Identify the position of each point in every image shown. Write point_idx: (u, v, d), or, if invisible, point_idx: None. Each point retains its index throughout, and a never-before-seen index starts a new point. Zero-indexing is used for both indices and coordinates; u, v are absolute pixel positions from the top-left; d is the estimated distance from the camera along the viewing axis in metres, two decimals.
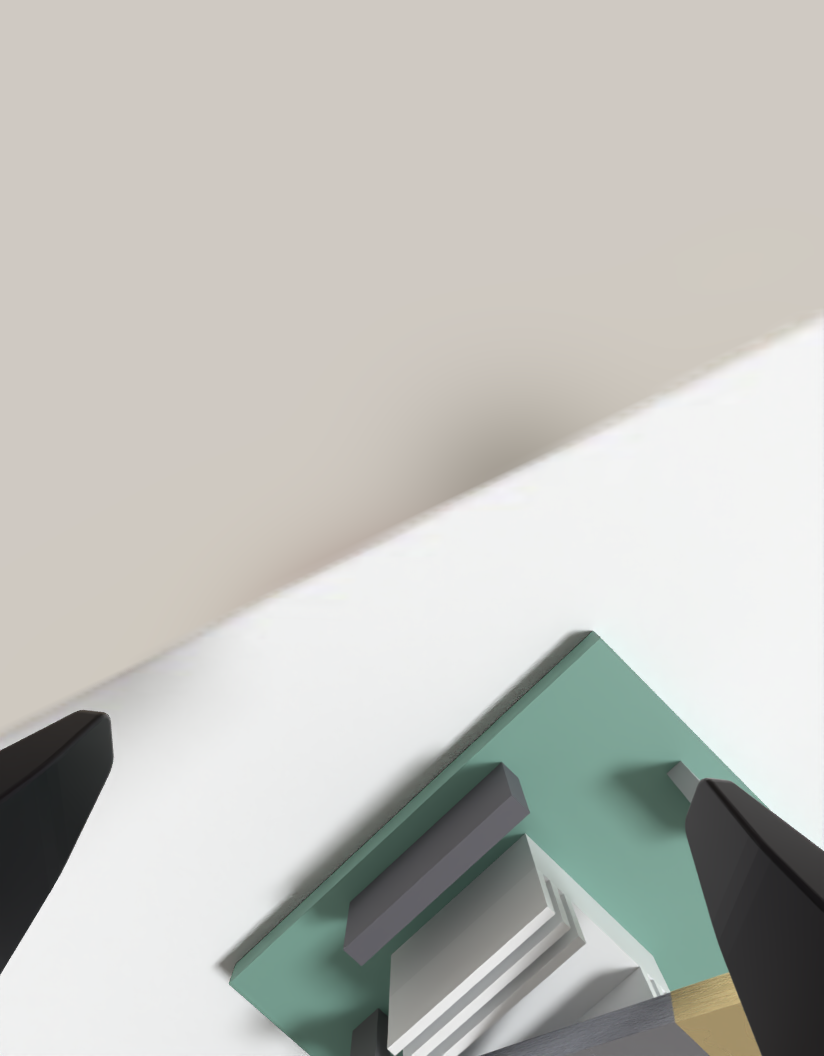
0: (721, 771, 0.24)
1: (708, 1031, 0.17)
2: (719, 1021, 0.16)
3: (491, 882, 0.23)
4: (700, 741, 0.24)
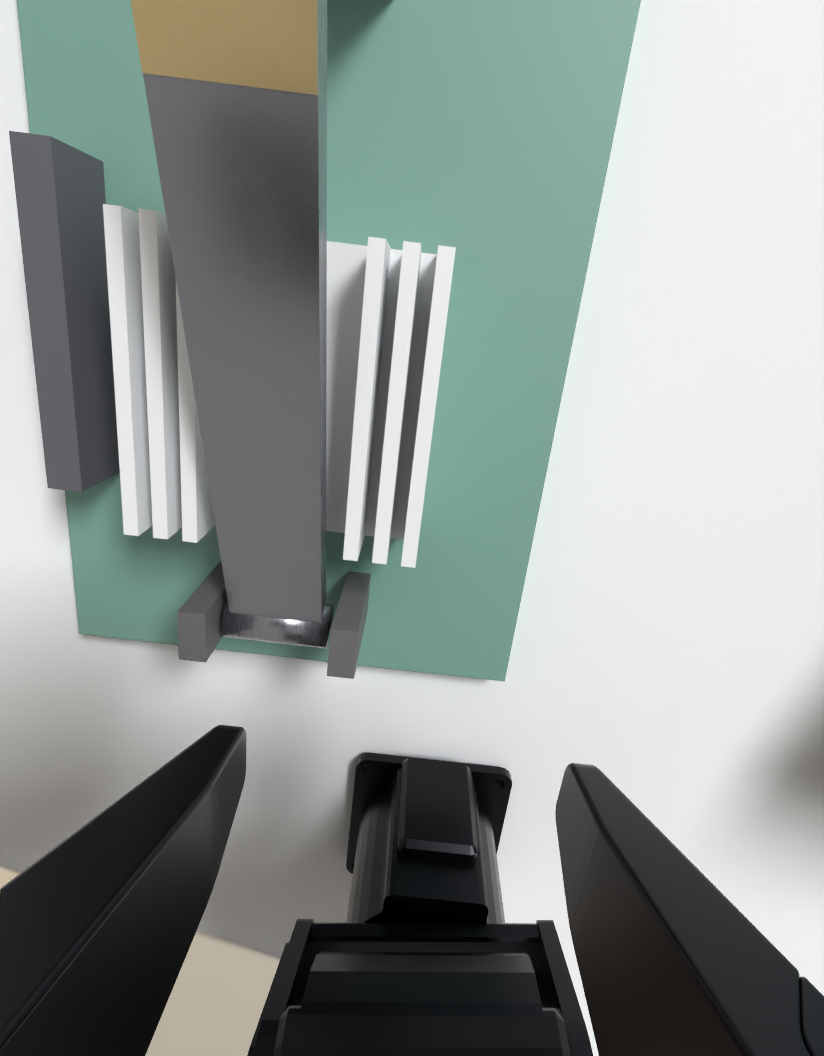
0: None
1: (177, 27, 0.09)
2: None
3: None
4: None
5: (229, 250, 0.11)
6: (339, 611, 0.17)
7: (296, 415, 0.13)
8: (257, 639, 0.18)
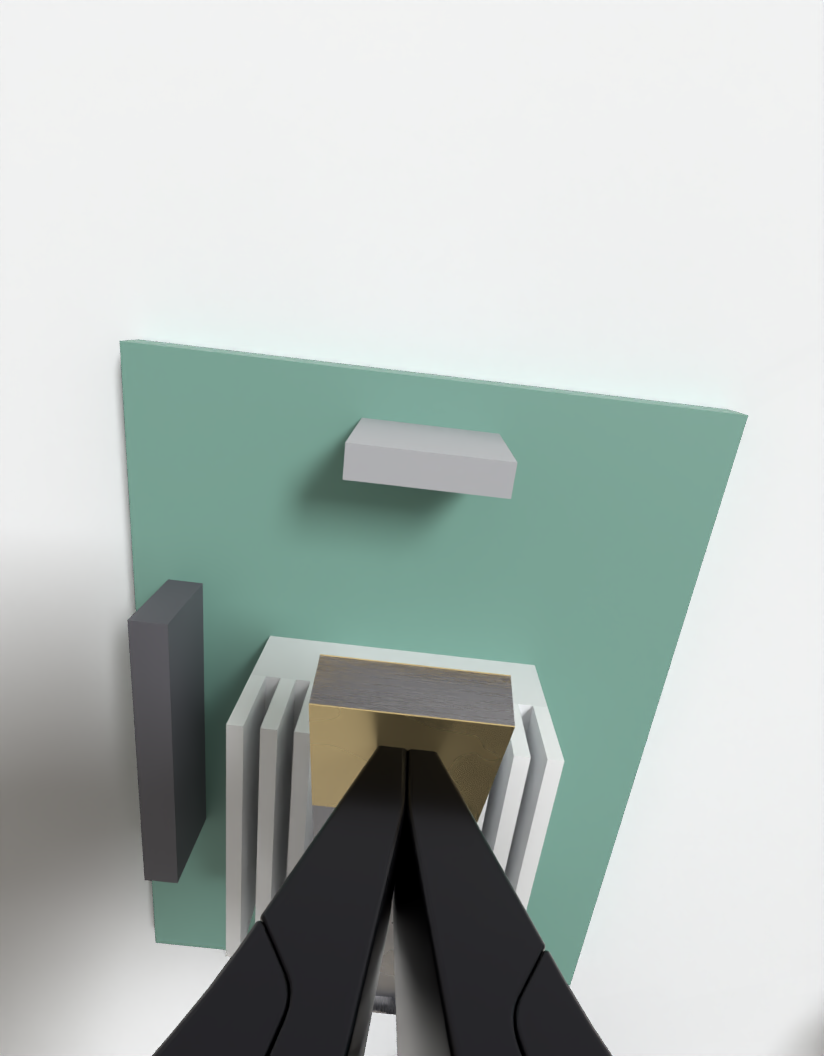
0: (425, 390, 0.15)
1: None
2: (338, 774, 0.09)
3: None
4: (363, 372, 0.14)
5: None
6: None
7: None
8: None
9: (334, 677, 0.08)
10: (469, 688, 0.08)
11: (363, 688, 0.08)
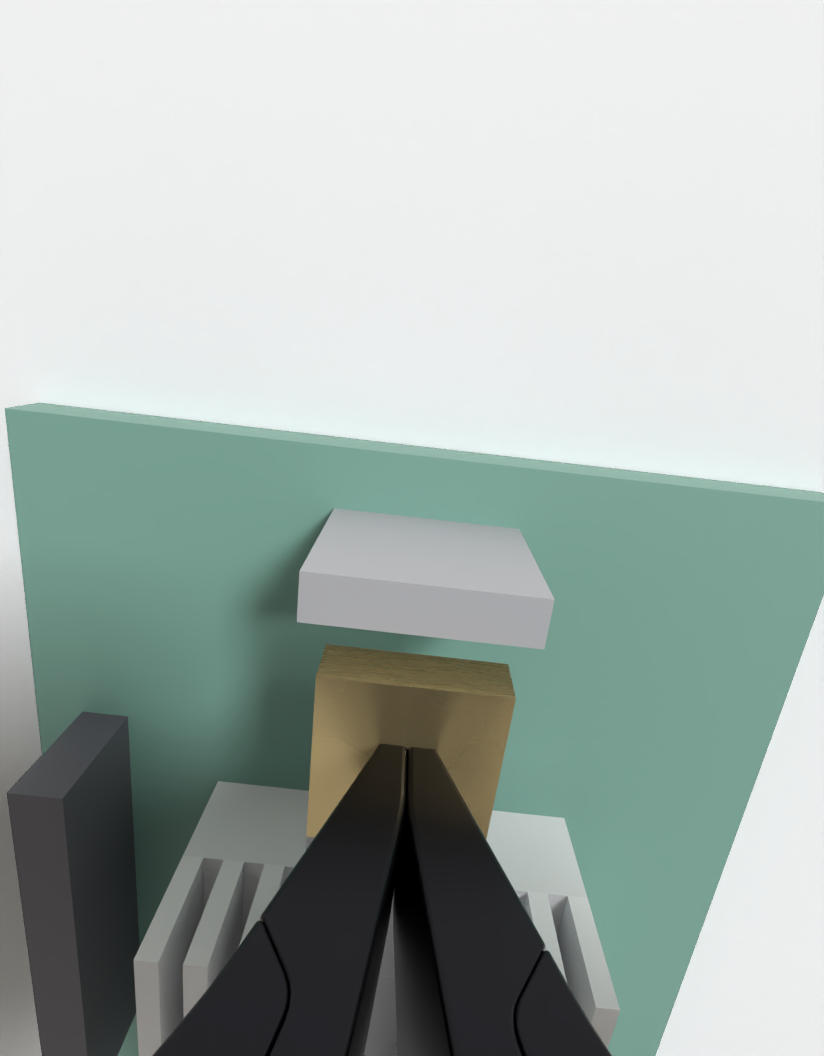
0: (419, 472, 0.11)
1: None
2: (338, 783, 0.09)
3: None
4: (335, 449, 0.11)
5: None
6: None
7: None
8: None
9: (340, 659, 0.08)
10: (469, 671, 0.08)
11: (369, 667, 0.08)
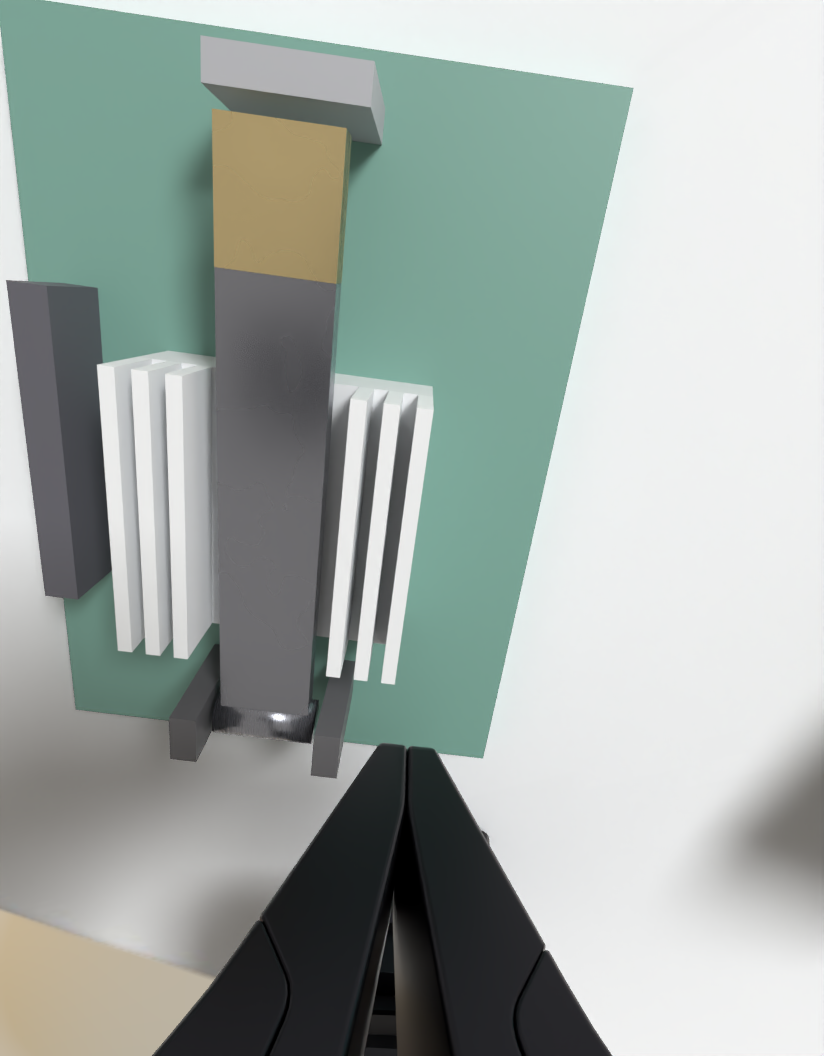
0: None
1: (243, 241, 0.13)
2: (232, 213, 0.13)
3: None
4: (244, 33, 0.14)
5: (260, 384, 0.14)
6: (323, 712, 0.18)
7: (301, 513, 0.16)
8: (244, 733, 0.19)
9: None
10: None
11: None
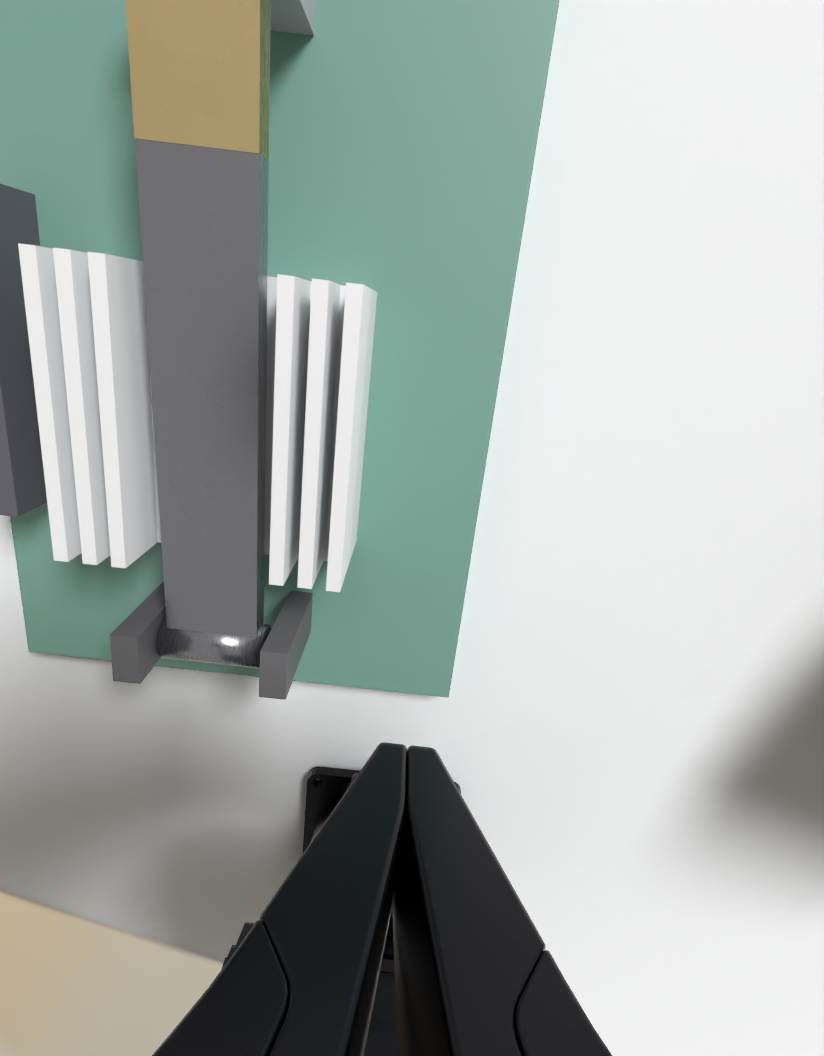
0: None
1: (162, 109, 0.13)
2: (150, 78, 0.12)
3: None
4: None
5: (188, 267, 0.14)
6: (272, 633, 0.18)
7: (238, 409, 0.15)
8: (192, 657, 0.18)
9: None
10: None
11: None
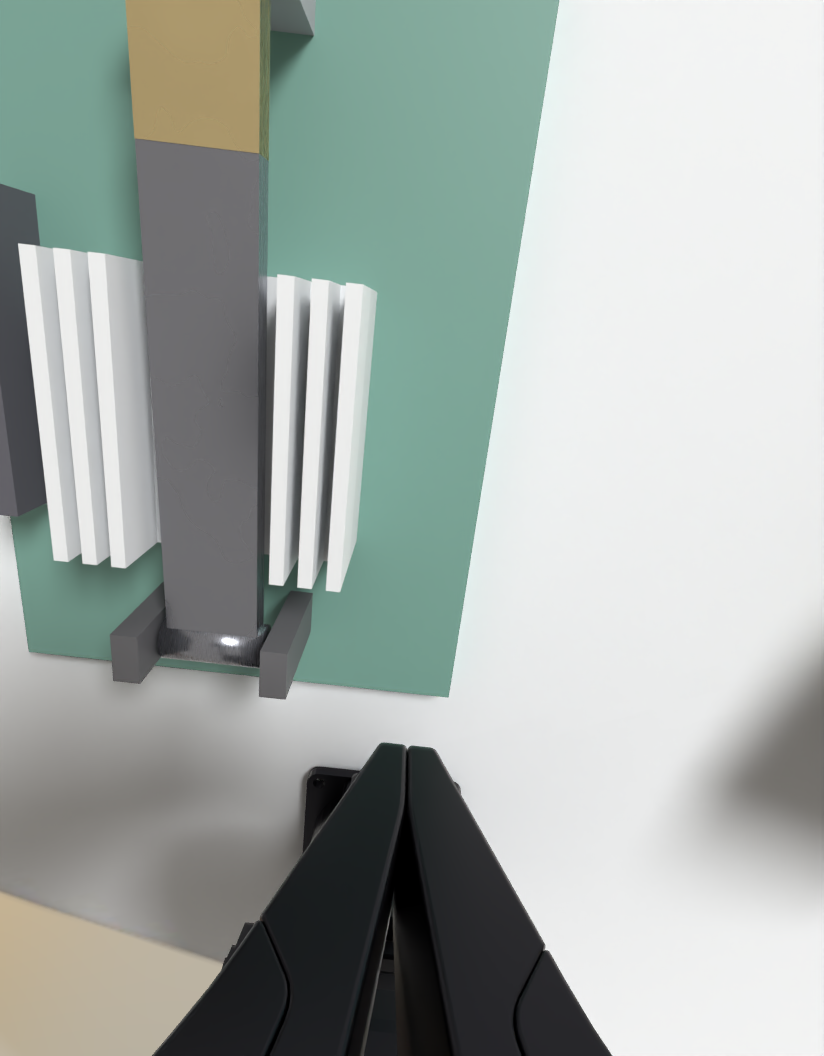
0: None
1: (162, 109, 0.13)
2: (150, 78, 0.12)
3: None
4: None
5: (188, 267, 0.14)
6: (272, 633, 0.18)
7: (238, 409, 0.15)
8: (192, 657, 0.18)
9: None
10: None
11: None
